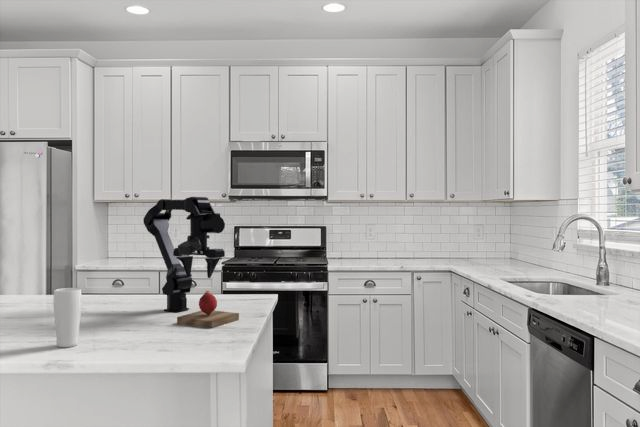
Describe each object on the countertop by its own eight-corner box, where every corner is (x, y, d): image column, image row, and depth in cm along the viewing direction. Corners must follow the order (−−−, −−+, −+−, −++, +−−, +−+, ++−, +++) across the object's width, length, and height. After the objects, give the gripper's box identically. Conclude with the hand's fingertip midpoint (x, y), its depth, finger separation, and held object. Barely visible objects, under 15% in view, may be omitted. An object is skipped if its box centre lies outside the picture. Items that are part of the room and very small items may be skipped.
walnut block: (177, 326, 164) (177, 317, 164) (205, 318, 176) (205, 309, 176) (212, 331, 157) (212, 321, 157) (238, 322, 170) (238, 313, 170)
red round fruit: (215, 317, 164) (213, 292, 163) (197, 317, 164) (195, 293, 163) (219, 312, 170) (218, 288, 169) (202, 312, 170) (200, 288, 169)
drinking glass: (59, 342, 140) (59, 287, 140) (85, 342, 140) (85, 287, 140) (48, 349, 133) (48, 291, 133) (75, 348, 134) (75, 291, 134)
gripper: (161, 232, 176) (161, 278, 176) (204, 233, 168) (204, 281, 168) (184, 231, 186) (184, 274, 186) (225, 232, 177) (225, 277, 177)
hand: (198, 277), depth 179 cm, fingers open, 9 cm apart
